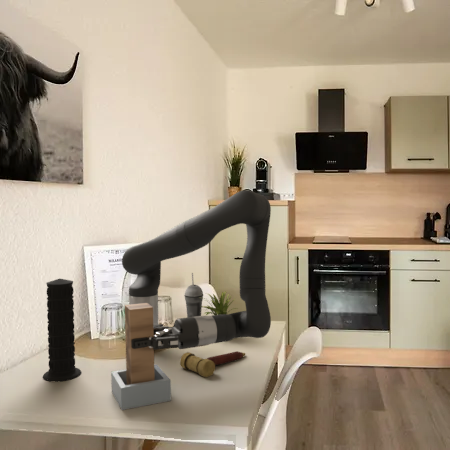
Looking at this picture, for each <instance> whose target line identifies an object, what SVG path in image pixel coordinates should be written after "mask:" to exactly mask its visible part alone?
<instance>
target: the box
mask: <svg viewBox="0 0 450 450" xmlns="http://www.w3.org/2000/svg"><path fill="white" fill-rule="evenodd" d="M110 373H111V374H110V376H111V380H110V381H111V393H112V395H113V397H114V398H115V400H116V403H117V404H118V406H119V408H120V409H121V410H120V411H124V410H128V409H133V408H140V407H145V406H149V405H150V406H151V405H155V404H160V403H165V402H170V401H172V389H171V388H172V387H171V385H172V384H171V383H172V382H171V381H172V380H171V378H170V377H169V376H168V375H167V374H166V373H165V372H164V371H163V369H162V368H161V367H160V366H159V365H158V364H154V376H155V380H154V381H148V382H142V383H137V384H131V385H127V378H126V369H119V370H118V369H117V370H114V371H111V372H110Z"/></svg>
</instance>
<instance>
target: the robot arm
mask: <svg viewBox="0 0 450 450" xmlns="http://www.w3.org/2000/svg"><path fill="white" fill-rule="evenodd" d="M271 212H272V208H271V203H270V200H268V198H267V197H266V196H264V195H262V194H260V193H258V192H254V191H252V190H247V189H245V190H240V191H237V192H236V193H234V194H232V195H231V196H229V197H228V198H225V199H224V200H223V201H222V202H220V203H218V204H217V205H215V206H214V207H211V208H210V209H208V210H205V211H204V212H203V211H202V212H201V213H200V214H197V215H196V216H193V217H191V218H189V219H187V220H185V221H182V222H181V223H179V224H177V225H175V226H174V227H172V228H170V229H167V230H166V231H164V232H163V233H161V234H159V235H157V236H155V237H154V238H152V239H149V240H148V241H144V242H142V243H139V244H136V245H132V246H130V247H128V248H127V249H126V250H125V251H124V253H123V255H122V259H121V265H122V267H123V269H124V270H125V272H127V273H129V274H131V275H136V279H135V280H134V282H133V283H131V284H130V285H129V287H128V305H131V304H141V303H148V304H149V305H151V306H152V307H153V330H154V336H149V337H148V338H147V337H143V338H136V339H132V340H131V347H132V348H133V349H137V348H144V347H148V348H153V349H154V351H156V350H169V349H180V350H186V349H191V348H199V347H205V346H209V345H213V344H219V343H226V342H229V341H232V340H234V339H239V338H240V339H241V338H255V339H261V338H264V337H265V336H267V334H268V333H270V329H271V322H272V319H271V318H272V317H271V313H270V307H269V303H268V300H267V296H266V255H267V244H268V236H269V228H270V221H271ZM242 224H243V225H245V227H246V234H247V236H246V237H247V238H246V239H247V240H246V246H245V250H244V253H243V255H242V260H241V263H240V266H239V267H240V268H239V274H238V275H239V296H240V299H241V300H242V301H243V302H244V304H245V310H242V311H237V312H231V313H227V314H220V315H214V314H211V315H201V316H196V317H180V318H177V319H175V321H174V323H173V326H169V325H164V324H162V323H159V288H160V284H161V275H162V273H161V272H162V271H161V270H162V269H161V267H162V266H161V265H162V263H161V262H163V261H167V260H170V259H174V258H177V257H181V256H182V257H183V256H185V255H188V254H190V253H193V252H195V251H197V250H200V249H202V248H204V247H206V246H208V244H210V243H211V242H212V241H213V240H214V239H215V237H216V236H217V235H218V234H219V233H220V232H222V231H225V230H226V229H229V228H231V227H234V226H237V225H242Z"/></svg>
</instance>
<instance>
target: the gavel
mask: <svg viewBox="0 0 450 450" xmlns="http://www.w3.org/2000/svg"><path fill="white" fill-rule="evenodd" d="M245 356H246V352H242V351H233V352H228V353H227V352H226V353H222V354H219V355H214V356H210V357H207V358H202V357H199V356H198V355H197V356H196V355H195V354H194V353H192V352H189V351H187V352H185V353H183V354H182V356H181V357H180V360H179V363H180V365H179V366H181V368H182V369H184V370H189V371H192V372H194V373H197V374H199V376H201V377H203V378H208V377H211V376H213V375H214V373H215V371H216V366H219V365H223V364H227V363H231V362H235V360H236V361H239V360H241V359H242V358H243V357H245Z"/></svg>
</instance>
